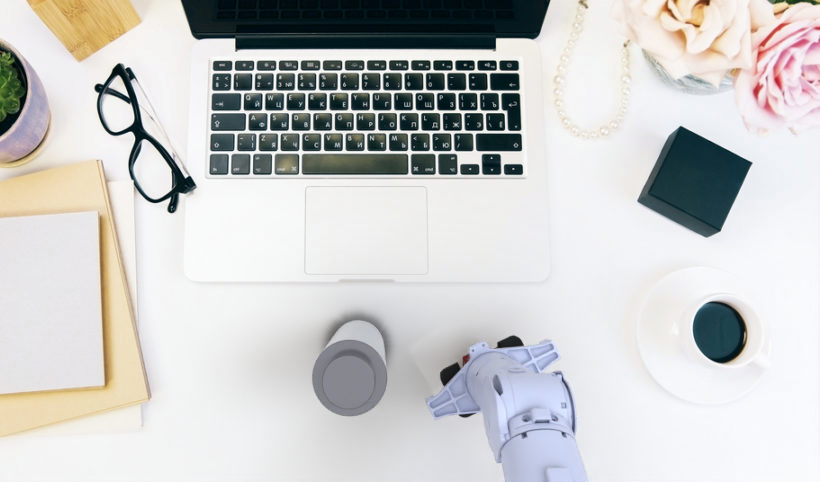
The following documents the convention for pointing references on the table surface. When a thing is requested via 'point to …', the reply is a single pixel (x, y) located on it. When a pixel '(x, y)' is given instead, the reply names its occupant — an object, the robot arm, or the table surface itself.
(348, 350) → the grey-lidded white canister
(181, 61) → the table surface
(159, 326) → the table surface
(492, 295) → the table surface
